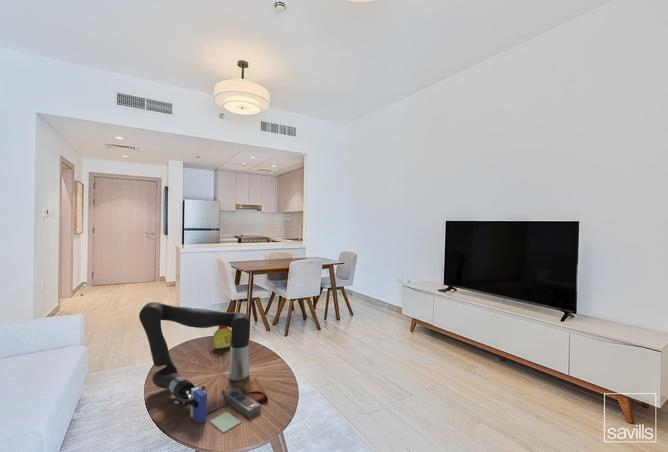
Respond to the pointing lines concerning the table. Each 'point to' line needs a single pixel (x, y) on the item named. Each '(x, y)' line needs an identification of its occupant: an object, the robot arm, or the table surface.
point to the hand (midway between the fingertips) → (201, 403)
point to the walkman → (199, 405)
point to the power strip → (239, 403)
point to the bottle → (222, 337)
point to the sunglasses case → (255, 391)
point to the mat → (225, 422)
